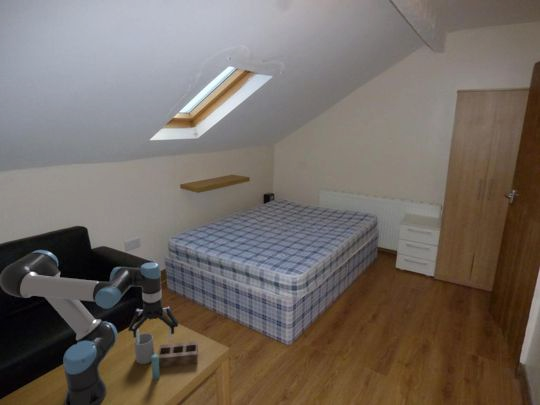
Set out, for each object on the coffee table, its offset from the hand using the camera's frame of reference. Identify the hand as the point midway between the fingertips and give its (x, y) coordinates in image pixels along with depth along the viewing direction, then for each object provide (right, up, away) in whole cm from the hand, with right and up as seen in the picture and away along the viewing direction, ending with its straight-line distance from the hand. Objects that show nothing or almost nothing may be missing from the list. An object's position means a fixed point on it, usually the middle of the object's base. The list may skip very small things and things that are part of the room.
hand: (154, 341), depth 147 cm
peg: (-1, -18, +5) cm, 19 cm away
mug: (-10, -14, +18) cm, 25 cm away
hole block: (+6, -15, +16) cm, 23 cm away
